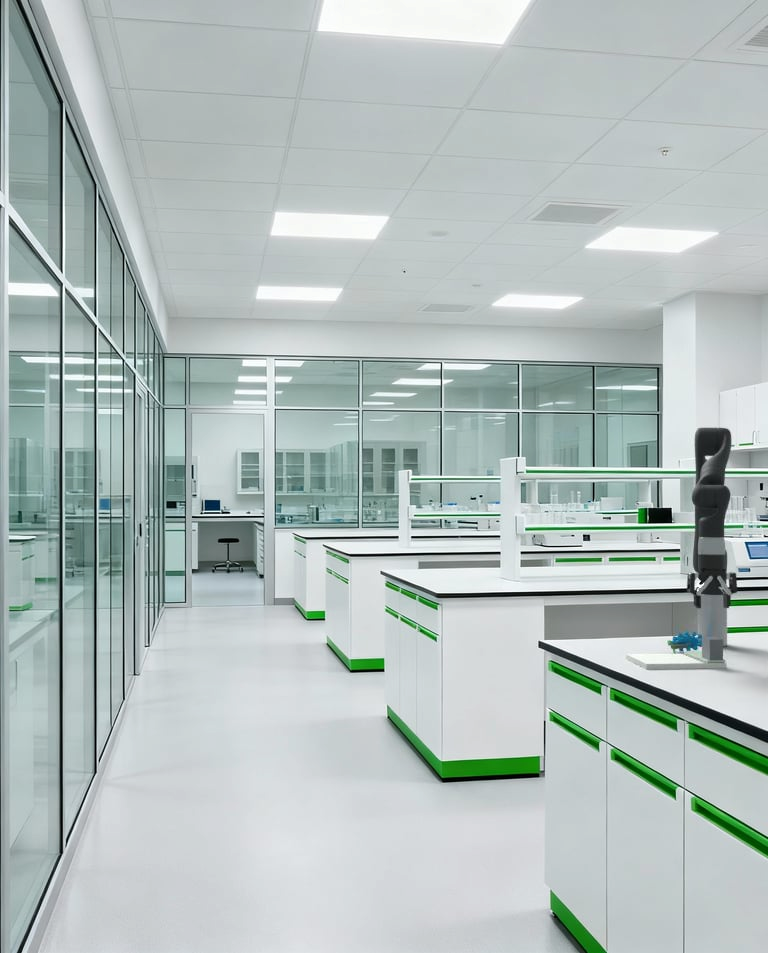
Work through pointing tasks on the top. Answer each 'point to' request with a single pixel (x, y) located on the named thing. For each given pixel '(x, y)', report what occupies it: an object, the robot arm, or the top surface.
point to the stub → (709, 650)
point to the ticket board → (671, 661)
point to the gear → (685, 641)
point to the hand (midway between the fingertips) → (712, 608)
